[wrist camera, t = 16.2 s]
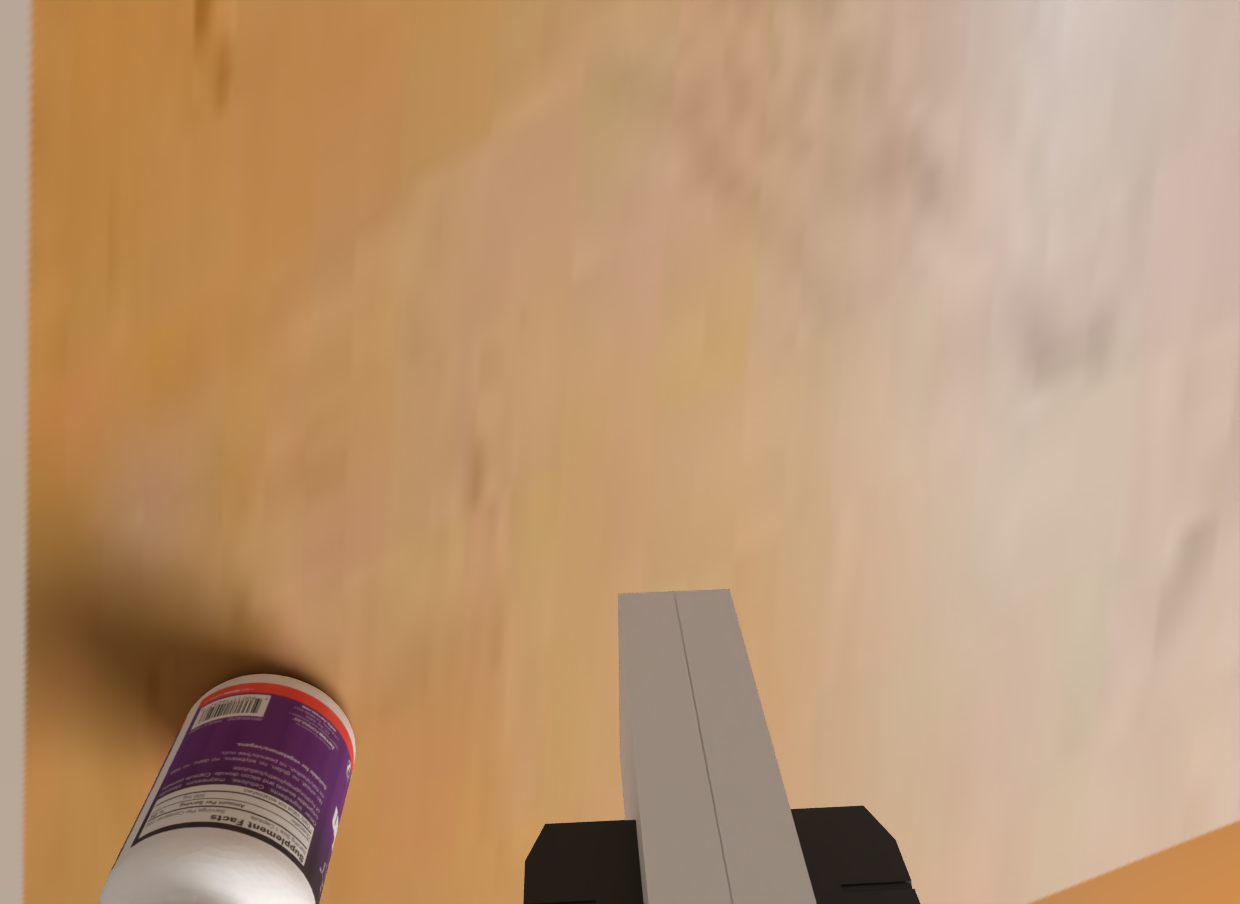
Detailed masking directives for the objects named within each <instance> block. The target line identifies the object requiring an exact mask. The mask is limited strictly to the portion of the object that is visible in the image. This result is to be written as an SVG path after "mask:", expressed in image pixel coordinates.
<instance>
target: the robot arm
mask: <svg viewBox="0 0 1240 904" xmlns="http://www.w3.org/2000/svg"><path fill="white" fill-rule="evenodd" d="M618 637H619V717H620V761H621V773H622V785H623V797H624V810H625V820H618V821H597V822H576V823H556V824H545V825H544V827H543V829H542V831H541V833H540V835H539V837H538V838H537V840H536V842H535V844H534V846H533V848H532V850H531V851H530V853H529V855H528V857H527V859H526V861H525V879H524V904H920V902H919V899H918V897H917V894H916V892H915V889H912V885H911V879H910V876H909V874H908V871H907V868H906V866H905V863H904V861H903V858H902V856H901V853H900V850H899V848H898V845H897V843H896V840H895V839H894V838H893V837H892V836H891V835H890V834H889V833H888V831H887V830H886V829H885V828H884V827H883V826H882V825H881V824H880V823H879V822H878V821H877V820H876V819H875V818H874V817H873V815H872V814H871V813H870V812H869V811H868V810H867V809H866V808H865V807H864V806H848V807H827V808H807V809H790V806H789V802H788V799H787V795H786V792H785V788H784V784H783V781H782V777H781V774H780V770H779V766H778V763H777V759H776V756H775V752H774V748H773V745H772V741H771V737H770V734H769V730H768V727H767V723H766V719H765V716H764V712H763V709H762V705H761V701H760V698H759V694H758V691H757V687H756V683H755V680H754V676H753V673H752V669H751V665H750V662H749V658H748V655H747V651H746V647H745V644H744V640H743V637H742V633H741V629H740V626H739V622H738V618H737V615H736V611H735V608H734V604H733V600H732V597H731V593H730V590H729V589H723V590H697V591H671V592H645V593H619V594H618Z"/></svg>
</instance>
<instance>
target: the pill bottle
mask: <svg viewBox="0 0 1240 904" xmlns="http://www.w3.org/2000/svg"><path fill="white" fill-rule="evenodd" d="M355 750H356V749H355V739H354V734H353V731H352V728H351V725H350V723H349V721H348V719H347V717H346V715H345V714H344V712H343V711H342V709H341V708H340V707H339V706H338V705H337V704H336V703H335V702H334V701H333V700H332V699H331V698H330V697H329V696H328V695H326V694H325V693H324V692H322V691H321V690H319V689H317V688H315V687H314V686H312V685H309V684H307V683H305V682H303V681H300V680H297V679H294V678H291V677H287V676H281V675H274V674H253V675H245V676H241V677H237V678H234V679H231V680H228V681H226V682H223V683H221V684H220V685H218V686H216V687H214V688H213V689H211V690H210V691H208V692H207V693H206V694H204V695H203V696H202V697H201V698H200V699H199V700H198V701H197V702H196V703H195V704H194V706H193V707H192V708H191V710H190V711H189V713H188V715H187V717H186V719H185V720H184V722H183V724H182V726H181V728H180V730H179V732H178V734H177V736H176V739H175V741H174V743H173V745H172V747H171V749H170V751H169V753H168V755H167V757H166V759H165V761H164V764H163V766H162V768H161V770H160V772H159V774H158V776H157V778H156V780H155V782H154V785H153V787H152V789H151V791H150V793H149V795H148V797H147V799H146V801H145V803H144V805H143V807H142V809H141V811H140V813H139V815H138V817H137V819H136V821H135V823H134V825H133V827H132V829H131V831H130V833H129V835H128V837H127V839H126V841H125V843H124V845H123V847H122V849H121V851H120V853H119V855H118V857H117V860H116V862H115V864H114V866H113V867H112V869H111V872H110V874H109V876H108V878H107V880H106V882H105V884H104V887H103V890H102V892H101V897H100V902H99V904H319V901H320V897H321V893H322V889H323V885H324V881H325V877H326V873H327V869H328V865H329V861H330V857H331V853H332V849H333V845H334V841H335V837H336V833H337V829H338V825H339V821H340V818H341V814H342V810H343V806H344V802H345V798H346V794H347V790H348V786H349V782H350V778H351V774H352V770H353V765H354V760H355Z"/></svg>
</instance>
